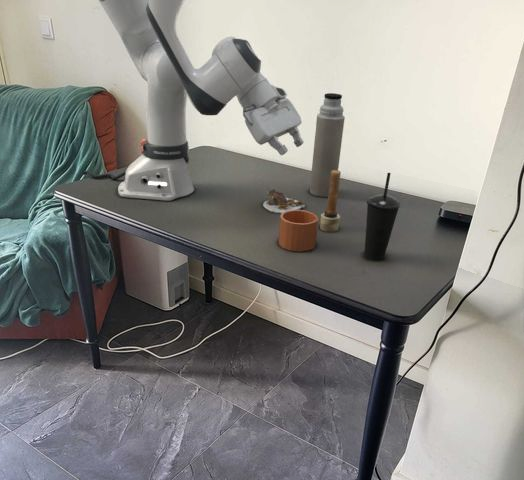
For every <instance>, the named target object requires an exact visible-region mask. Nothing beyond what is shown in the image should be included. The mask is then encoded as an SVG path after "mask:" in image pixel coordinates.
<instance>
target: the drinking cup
mask: <svg viewBox="0 0 524 480" xmlns="http://www.w3.org/2000/svg"><path fill="white" fill-rule="evenodd" d="M386 174H387V175H386V180H385V184H384V185H385V186H384V191H383V194H376V195H372V196H369V197H368V198H367V199H366V204H367V207H366V208H367V210H366V225H365V238H364V253H363V255H364V256H363V257H365V258H366V259H367V260H371V261H382V260H384V259H385V255H386V253H387V249H388V247H389V242H390V239H391V235H392V232H393V229H394V226H395V222H396V219H397V215H398V211H399V209H400V207H401V205H402V202H401V201H400V200H399V199H397V198H395V197H394V196H391V195H388V190H389V184H390V179H391V174H392V173H391V172H387V173H386Z"/></svg>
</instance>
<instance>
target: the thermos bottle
mask: <svg viewBox="0 0 524 480" xmlns="http://www.w3.org/2000/svg"><path fill="white" fill-rule="evenodd" d="M323 97H324V99H323V104H322V105H320V108H319V110H318V111H319V113H317V115H316V123H315V132H314V133H315V134H314V143H313V154H312V163H311V173H310V174H311V175H310V184H309V193H310V194H311V195H313V196H315V197H321V198H328V195H329V186H330V178H331V171H333V170H338V171H339V166H340V157H341V151H342V143H343V134H344V126H345V118H346V117H345V115H344V107H343V106H342V105H341V104H342V99H343V95H342V94H340V93H334V92H331V93H330V92H328V93H325V94H324V96H323Z"/></svg>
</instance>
